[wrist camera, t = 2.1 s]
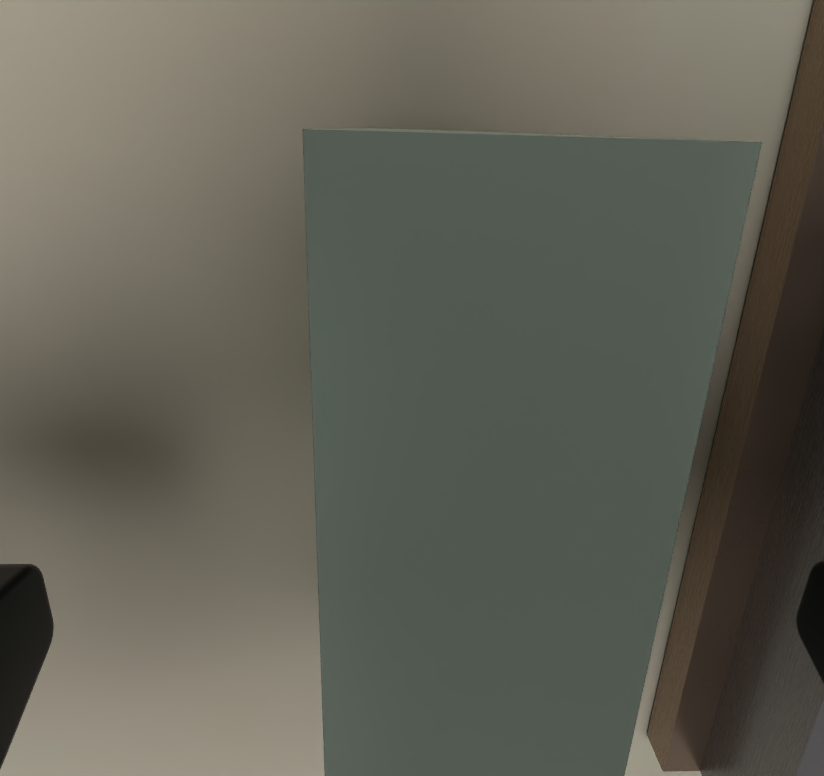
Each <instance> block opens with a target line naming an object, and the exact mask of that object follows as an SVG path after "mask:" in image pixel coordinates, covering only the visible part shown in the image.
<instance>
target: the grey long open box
mask: <svg viewBox="0 0 824 776" xmlns="http://www.w3.org/2000/svg"><path fill="white" fill-rule="evenodd" d="M823 560H824V0H814V4H813V9H812V13H811V17H810V22H809V26H808V30H807V35H806V39H805V44H804V48H803V52H802V57H801V61H800V66H799V70H798V74H797V79H796V83H795V87H794V92H793V96H792V101H791V105H790V109H789V114H788V118H787V123H786V127H785V131H784V136H783V140H782V144H781V149H780V153H779V158H778V162H777V166H776V171H775V175H774V180H773V184H772V188H771V193H770V197H769V201H768V206H767V210H766V215H765V219H764V223H763V228H762V232H761V237H760V241H759V245H758V250H757V254H756V258H755V263H754V267H753V272H752V276H751V280H750V285H749V289H748V293H747V298H746V302H745V307H744V311H743V315H742V320H741V324H740V329H739V333H738V337H737V342H736V346H735V350H734V355H733V359H732V364H731V368H730V372H729V377H728V381H727V386H726V390H725V394H724V399H723V403H722V407H721V412H720V416H719V421H718V425H717V429H716V434H715V438H714V443H713V447H712V451H711V456H710V460H709V464H708V469H707V473H706V478H705V482H704V486H703V491H702V495H701V500H700V504H699V508H698V513H697V517H696V521H695V526H694V530H693V535H692V539H691V543H690V548H689V552H688V557H687V561H686V565H685V570H684V574H683V578H682V583H681V587H680V592H679V596H678V600H677V605H676V609H675V614H674V618H673V622H672V627H671V631H670V635H669V640H668V644H667V649H666V653H665V657H664V662H663V666H662V671H661V675H660V679H659V684H658V688H657V692H656V697H655V701H654V706H653V710H652V714H651V719H650V723H649V728H648V732H647V736H648V738H649V741H650V743H651V745H652V747H653V750H654V752H655V754H656V757H657V759H658V761H659V764H660V766H661V768H662V771H700V772H701V774H702V776H824V685H823V683H822V681H821V679H820V677H819V675H818V673H817V671H816V669H815V667H814V665H813V663H812V661H811V659H810V657H809V655H808V653H807V651H806V649H805V647H804V645H803V643H802V641H801V639H800V636H799V634H798V630H797V625H796V614H797V610H798V607H799V604H800V601H801V598H802V595H803V591H804V588H805V585H806V582H807V579H808V576H809V573H810V570H811V568H812V567H813V566H814V565H815V564H816V563H817V562H820V561H823Z"/></svg>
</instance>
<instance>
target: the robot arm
mask: <svg viewBox="0 0 824 776" xmlns="http://www.w3.org/2000/svg"><path fill="white" fill-rule="evenodd" d="M796 625H797V630H798V634H799V636H800V639H801V641H802V643H803V645H804V647H805V649H806V651H807V653H808V655H809V657H810V659H811V661H812V663H813V665H814V667H815V669H816V671H817V673H818V675H819V677H820V679H821V681H822V683H823V685H824V560H823V561H820V562H817V563H816V564H815V565H814V566H813V567H812V568H811V570H810V573H809V576H808V579H807V582H806V585H805V588H804V591H803V595H802V598H801V601H800V604H799V607H798V610H797V614H796ZM52 637H53V618H52V614H51V609H50V605H49V601H48V596H47V592H46V588H45V583H44V579H43V575H42V573H41V571H40V569H39V568H38V567H37V566H34V565H32V564H1V565H0V769H1V766H2V764H3V762H4V759H5V757H6V755H7V752H8V750H9V747H10V745H11V742H12V740H13V737H14V735H15V732H16V730H17V727H18V725H19V722H20V720H21V717H22V715H23V712H24V710H25V707H26V705H27V702H28V700H29V697H30V695H31V692H32V690H33V687H34V685H35V682H36V680H37V677H38V675H39V672H40V670H41V667H42V665H43V662H44V660H45V657H46V655H47V652H48V650H49V647H50V644H51V641H52Z"/></svg>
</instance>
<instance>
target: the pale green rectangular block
mask: <svg viewBox="0 0 824 776" xmlns="http://www.w3.org/2000/svg"><path fill="white" fill-rule="evenodd" d="M761 144H762V142H740V141H715V140H690V139H665V138H640V137H615V136H590V135H565V134H541V133H516V132H486V131H452V130H418V129H384V128H325V129H303V155H304V185H305V214H306V243H307V272H308V301H309V331H310V360H311V389H312V418H313V448H314V477H315V506H316V535H317V565H318V594H319V623H320V652H321V682H322V711H323V740H324V769H325V776H624V775H625V770H626V765H627V761H628V756H629V752H630V747H631V742H632V738H633V733H634V729H635V724H636V719H637V715H638V710H639V706H640V701H641V696H642V692H643V687H644V683H645V678H646V673H647V669H648V664H649V660H650V655H651V650H652V646H653V641H654V637H655V632H656V627H657V623H658V618H659V613H660V609H661V604H662V600H663V595H664V590H665V586H666V581H667V577H668V572H669V567H670V563H671V558H672V554H673V549H674V544H675V540H676V535H677V531H678V526H679V521H680V517H681V512H682V508H683V503H684V498H685V494H686V489H687V485H688V480H689V475H690V471H691V466H692V462H693V457H694V452H695V448H696V443H697V439H698V434H699V429H700V425H701V420H702V416H703V411H704V406H705V402H706V397H707V393H708V388H709V383H710V379H711V374H712V370H713V365H714V360H715V356H716V351H717V347H718V342H719V337H720V333H721V328H722V324H723V319H724V314H725V310H726V305H727V301H728V296H729V291H730V287H731V282H732V278H733V273H734V268H735V264H736V259H737V254H738V250H739V245H740V241H741V236H742V231H743V227H744V222H745V218H746V213H747V208H748V204H749V199H750V195H751V190H752V185H753V181H754V176H755V172H756V167H757V162H758V158H759V153H760V149H761Z"/></svg>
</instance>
